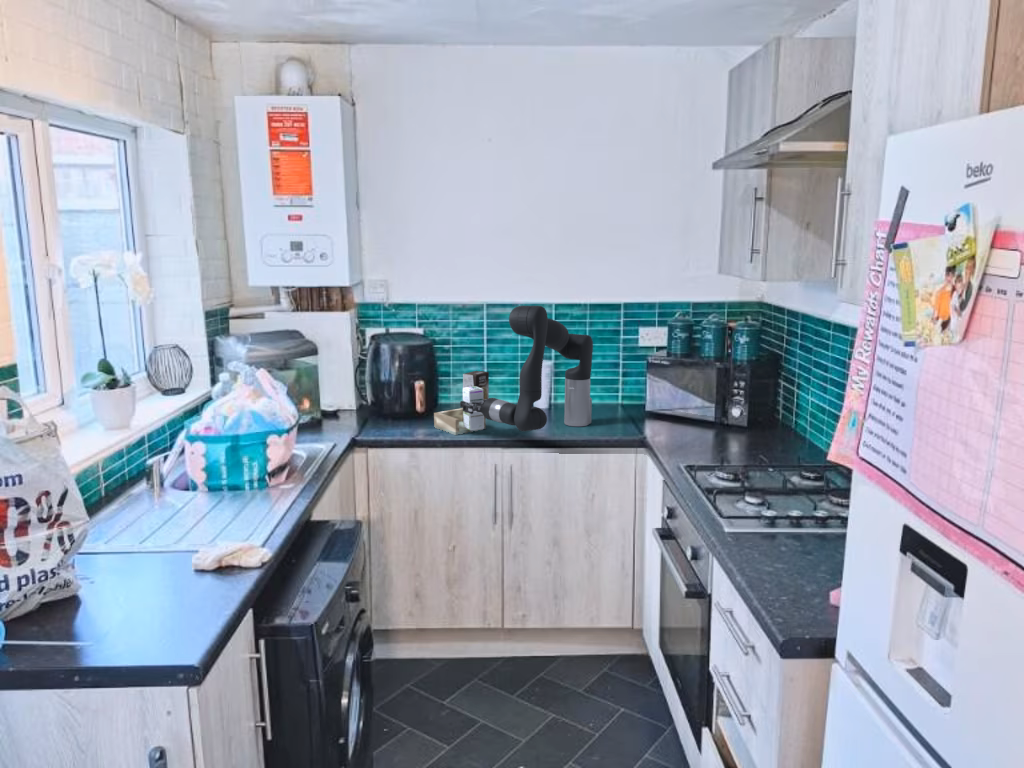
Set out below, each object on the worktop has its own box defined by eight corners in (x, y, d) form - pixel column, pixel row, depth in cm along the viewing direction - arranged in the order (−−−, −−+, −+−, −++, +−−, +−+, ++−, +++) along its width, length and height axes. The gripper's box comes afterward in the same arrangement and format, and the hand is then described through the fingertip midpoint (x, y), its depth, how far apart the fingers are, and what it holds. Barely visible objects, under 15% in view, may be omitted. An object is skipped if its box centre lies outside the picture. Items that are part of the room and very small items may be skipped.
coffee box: (475, 416, 294) (475, 375, 290) (462, 414, 297) (462, 373, 294) (489, 411, 301) (489, 371, 298) (476, 409, 305) (475, 370, 301)
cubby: (463, 422, 284) (463, 407, 283) (485, 429, 274) (485, 414, 273) (434, 427, 276) (434, 412, 275) (455, 435, 266) (455, 419, 265)
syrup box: (484, 429, 267) (484, 388, 265) (469, 431, 264) (469, 389, 262) (477, 425, 272) (477, 385, 269) (462, 427, 269) (461, 387, 267)
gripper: (515, 396, 260) (485, 389, 272) (481, 402, 251) (452, 394, 263) (515, 418, 261) (485, 410, 274) (481, 424, 252) (452, 415, 265)
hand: (469, 402), depth 268 cm, fingers closed on syrup box, 6 cm apart
